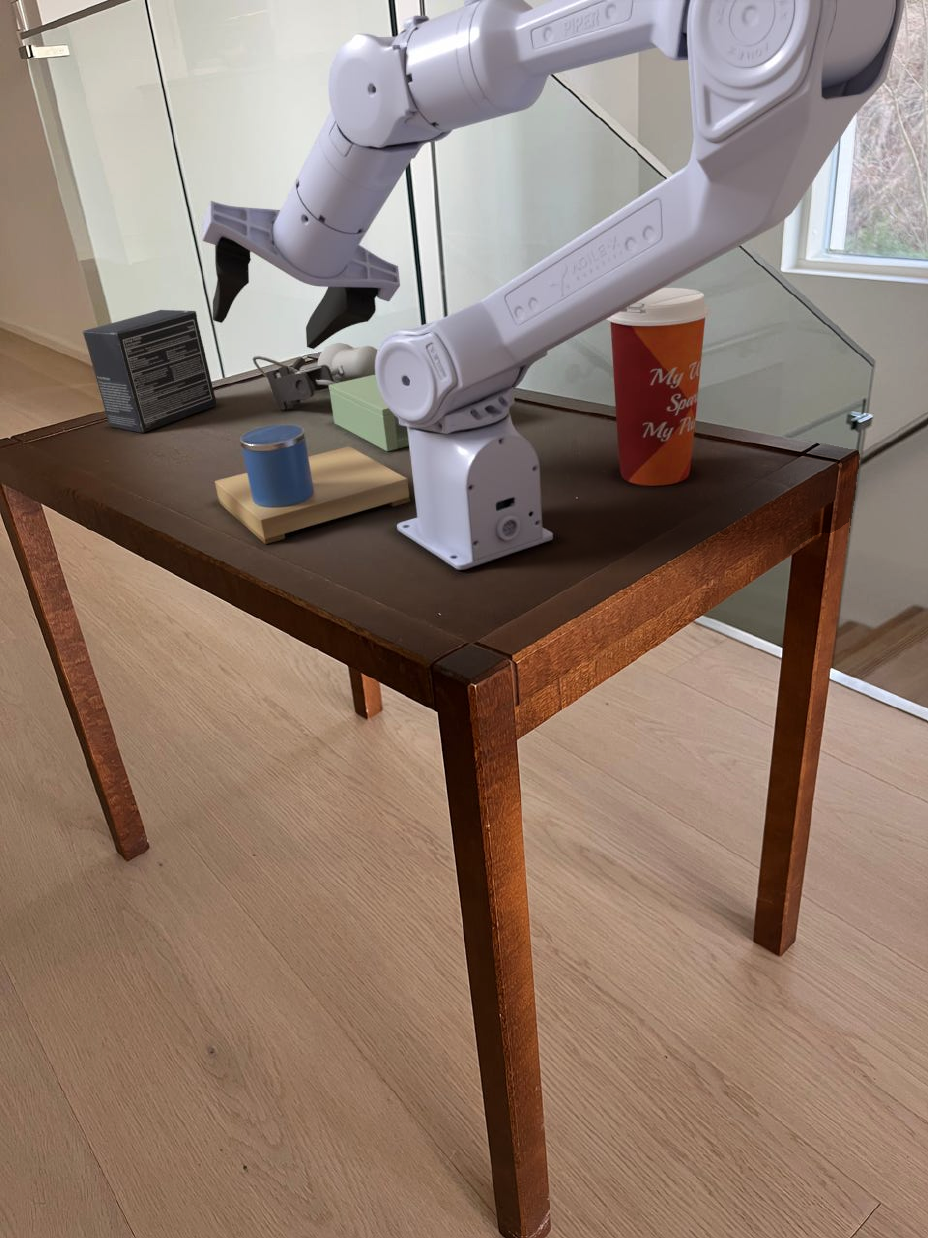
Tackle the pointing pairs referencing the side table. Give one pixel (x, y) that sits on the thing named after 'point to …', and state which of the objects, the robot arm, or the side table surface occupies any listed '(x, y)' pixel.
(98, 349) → the small box
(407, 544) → the side table surface
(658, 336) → the paper cup
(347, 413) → the shelf stand
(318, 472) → the low shelf
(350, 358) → the clip-on lamp
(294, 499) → the can
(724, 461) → the side table surface
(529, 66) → the robot arm
